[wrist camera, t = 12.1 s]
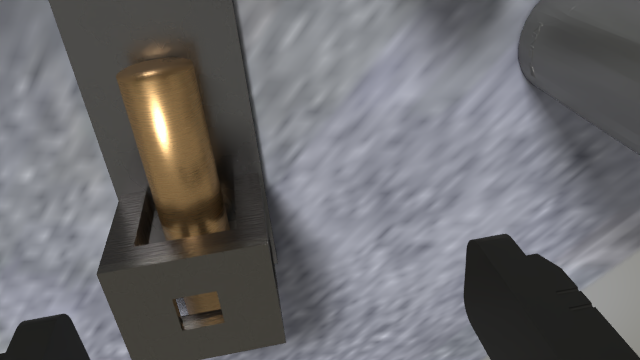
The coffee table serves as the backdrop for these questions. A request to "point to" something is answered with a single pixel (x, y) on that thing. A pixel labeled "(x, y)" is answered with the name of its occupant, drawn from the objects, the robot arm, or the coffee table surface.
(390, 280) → the coffee table surface
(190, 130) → the tube
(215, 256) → the dark grey holder
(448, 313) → the coffee table surface
